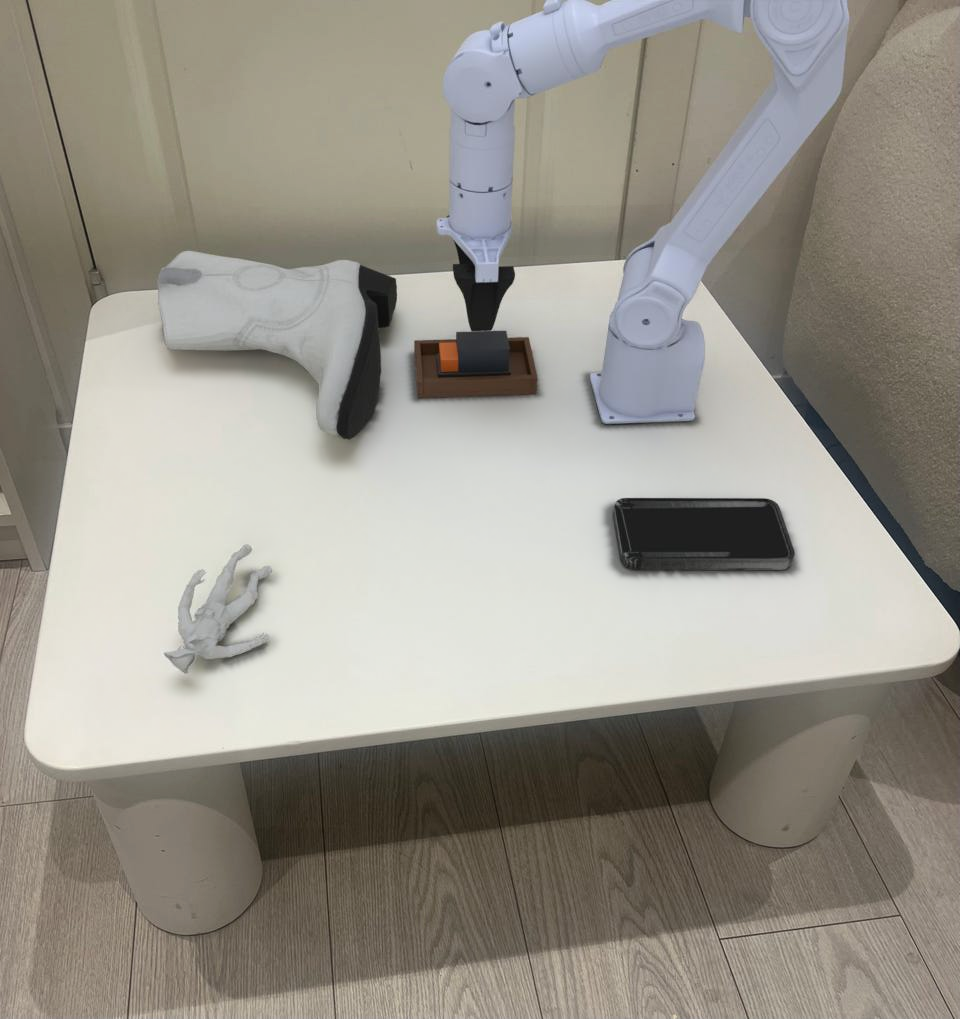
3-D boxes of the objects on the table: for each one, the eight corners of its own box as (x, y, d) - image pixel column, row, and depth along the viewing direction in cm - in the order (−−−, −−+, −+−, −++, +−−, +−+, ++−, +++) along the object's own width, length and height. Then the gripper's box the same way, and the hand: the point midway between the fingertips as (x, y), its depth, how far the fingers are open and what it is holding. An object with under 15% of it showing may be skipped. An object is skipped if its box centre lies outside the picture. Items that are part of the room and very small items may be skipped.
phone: (612, 497, 92) (776, 497, 92) (611, 506, 92) (773, 506, 93) (624, 561, 86) (798, 561, 87) (622, 570, 87) (795, 570, 87)
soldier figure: (298, 594, 85) (250, 676, 75) (259, 622, 87) (207, 706, 76) (234, 526, 83) (176, 602, 73) (195, 557, 85) (132, 634, 74)
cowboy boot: (404, 242, 110) (178, 226, 111) (356, 378, 89) (78, 356, 90) (405, 319, 116) (191, 304, 117) (361, 464, 95) (100, 443, 96)
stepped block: (506, 359, 107) (508, 329, 105) (510, 379, 105) (512, 349, 102) (436, 361, 107) (436, 331, 104) (438, 382, 104) (438, 351, 101)
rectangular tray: (527, 352, 109) (528, 336, 108) (536, 394, 104) (537, 377, 103) (414, 356, 108) (414, 340, 107) (417, 398, 103) (417, 381, 102)
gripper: (431, 142, 96) (432, 269, 105) (442, 218, 86) (442, 351, 95) (505, 141, 96) (500, 267, 106) (524, 216, 86) (516, 348, 96)
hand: (477, 306), depth 101 cm, fingers open, 7 cm apart
